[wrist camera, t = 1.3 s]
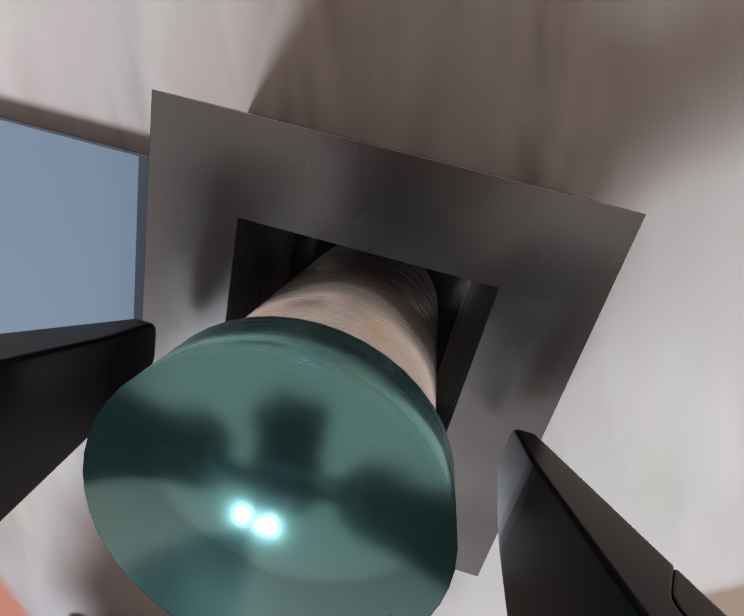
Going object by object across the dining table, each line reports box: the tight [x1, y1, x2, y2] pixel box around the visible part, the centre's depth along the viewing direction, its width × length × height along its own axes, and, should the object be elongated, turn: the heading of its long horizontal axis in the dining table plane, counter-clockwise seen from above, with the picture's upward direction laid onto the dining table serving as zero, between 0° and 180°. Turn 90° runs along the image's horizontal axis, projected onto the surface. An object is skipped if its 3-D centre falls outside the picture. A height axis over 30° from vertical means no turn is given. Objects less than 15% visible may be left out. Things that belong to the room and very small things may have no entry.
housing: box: [143, 90, 646, 576], centre depth 12 cm, size 10×10×4 cm
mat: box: [0, 117, 149, 334], centre depth 15 cm, size 8×8×1 cm
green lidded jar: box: [83, 245, 458, 616], centre depth 10 cm, size 5×5×9 cm
